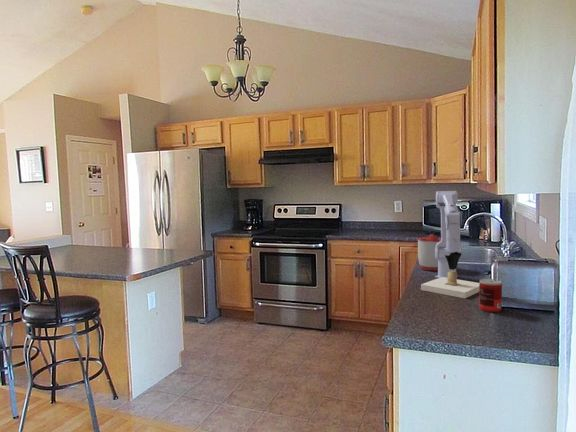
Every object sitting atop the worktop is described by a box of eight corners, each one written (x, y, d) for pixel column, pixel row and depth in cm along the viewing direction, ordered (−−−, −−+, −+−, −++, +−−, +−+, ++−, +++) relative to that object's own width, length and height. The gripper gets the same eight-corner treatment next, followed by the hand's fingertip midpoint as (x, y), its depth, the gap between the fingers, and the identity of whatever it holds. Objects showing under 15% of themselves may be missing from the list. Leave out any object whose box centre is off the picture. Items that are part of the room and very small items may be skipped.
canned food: (498, 307, 156) (499, 279, 155) (503, 313, 148) (504, 284, 148) (477, 305, 158) (477, 278, 157) (481, 312, 150) (481, 283, 150)
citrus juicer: (449, 267, 230) (449, 232, 228) (444, 273, 215) (444, 236, 213) (421, 264, 238) (421, 231, 236) (414, 270, 223) (414, 234, 221)
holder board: (441, 281, 196) (441, 276, 196) (484, 289, 182) (484, 283, 182) (420, 289, 183) (420, 284, 183) (465, 298, 168) (465, 292, 168)
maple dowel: (449, 287, 185) (449, 270, 185) (458, 289, 182) (458, 272, 182) (445, 289, 183) (445, 272, 182) (454, 291, 180) (454, 273, 179)
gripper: (450, 236, 188) (450, 265, 189) (437, 240, 178) (437, 270, 179) (466, 237, 184) (465, 267, 185) (453, 241, 173) (453, 272, 174)
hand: (452, 269), depth 182 cm, fingers closed
